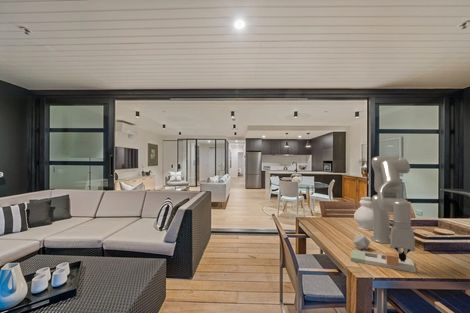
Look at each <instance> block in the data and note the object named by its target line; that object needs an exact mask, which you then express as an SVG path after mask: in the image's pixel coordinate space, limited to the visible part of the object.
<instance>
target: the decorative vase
mask: <svg viewBox="0 0 470 313" xmlns="http://www.w3.org/2000/svg"><path fill="white" fill-rule="evenodd" d="M359 204H360V205H361V206H360V207H358V208H357V209H356V210H355V211H354V214H353V217H354V220H355V221H356V223H357V224H358V225H357V228H358V229H360V230H364V231H373V206H372V197H370V196H361V197H360V200H359Z"/></svg>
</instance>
